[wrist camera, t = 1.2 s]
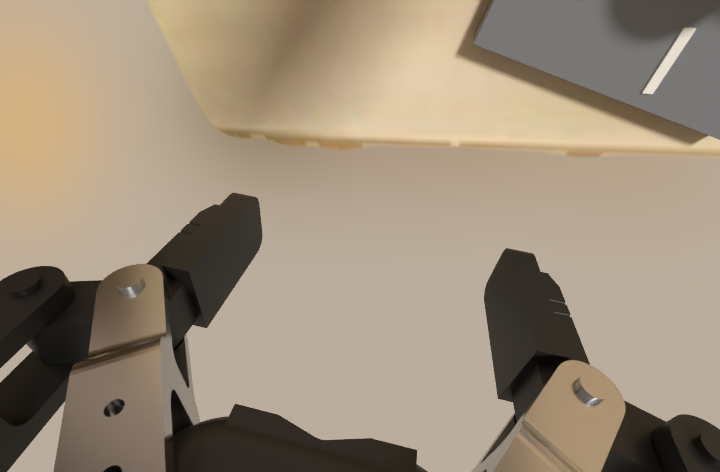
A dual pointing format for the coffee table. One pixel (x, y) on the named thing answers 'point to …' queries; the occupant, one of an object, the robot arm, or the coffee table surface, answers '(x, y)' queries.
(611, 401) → the robot arm
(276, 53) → the coffee table surface
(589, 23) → the grey base plate
